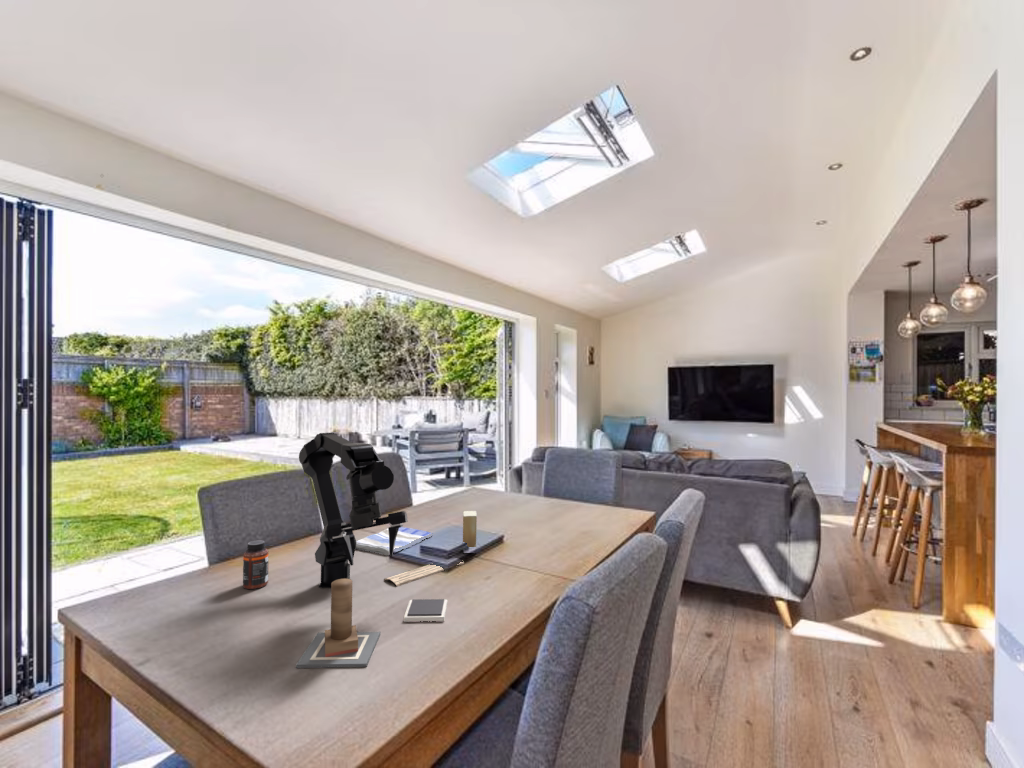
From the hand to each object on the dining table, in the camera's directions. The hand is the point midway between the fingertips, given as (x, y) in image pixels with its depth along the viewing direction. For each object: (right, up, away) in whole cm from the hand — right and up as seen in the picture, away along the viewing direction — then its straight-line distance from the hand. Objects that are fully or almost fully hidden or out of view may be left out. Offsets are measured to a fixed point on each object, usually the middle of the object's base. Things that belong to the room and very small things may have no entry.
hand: (371, 561), depth 117 cm
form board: (-1, -11, -19) cm, 22 cm away
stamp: (-1, -10, -19) cm, 21 cm away
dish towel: (-7, -12, +49) cm, 51 cm away
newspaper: (+8, -12, +23) cm, 27 cm away
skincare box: (+20, -12, +41) cm, 47 cm away
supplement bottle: (-34, -11, +12) cm, 37 cm away
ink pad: (+13, -11, -2) cm, 18 cm away
